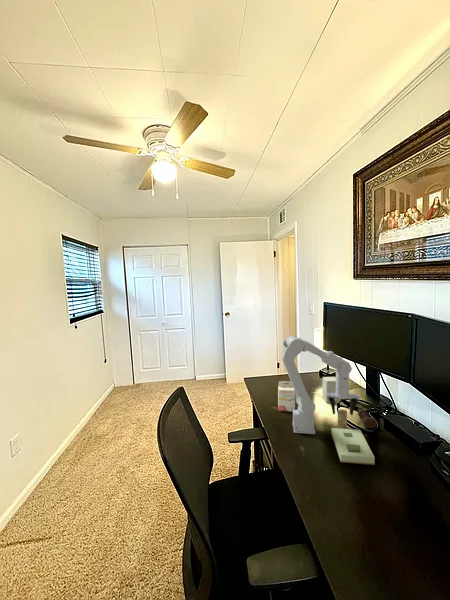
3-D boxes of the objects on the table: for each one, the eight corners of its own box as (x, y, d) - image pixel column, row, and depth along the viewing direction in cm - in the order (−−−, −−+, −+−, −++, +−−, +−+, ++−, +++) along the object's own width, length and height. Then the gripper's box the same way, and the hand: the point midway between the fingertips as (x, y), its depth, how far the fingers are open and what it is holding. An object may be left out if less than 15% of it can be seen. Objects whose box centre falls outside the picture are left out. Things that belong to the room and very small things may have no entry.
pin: (338, 429, 137) (338, 412, 137) (336, 424, 141) (336, 408, 140) (347, 429, 137) (347, 413, 136) (345, 425, 140) (345, 409, 140)
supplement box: (339, 403, 165) (339, 381, 163) (326, 403, 165) (326, 381, 164) (335, 397, 172) (335, 376, 171) (322, 397, 172) (322, 376, 171)
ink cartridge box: (278, 411, 157) (278, 384, 156) (278, 407, 162) (277, 380, 161) (295, 411, 156) (295, 384, 155) (294, 407, 161) (293, 381, 160)
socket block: (340, 462, 113) (340, 454, 113) (331, 434, 133) (331, 428, 133) (374, 464, 111) (374, 457, 111) (359, 436, 131) (360, 429, 131)
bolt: (362, 417, 152) (371, 432, 137) (352, 412, 152) (361, 426, 137) (368, 408, 151) (378, 421, 136) (358, 402, 152) (368, 415, 137)
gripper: (356, 382, 140) (356, 410, 141) (324, 381, 142) (324, 409, 143) (360, 388, 133) (360, 417, 134) (327, 387, 135) (327, 416, 137)
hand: (342, 413), depth 138 cm, fingers open, 7 cm apart
